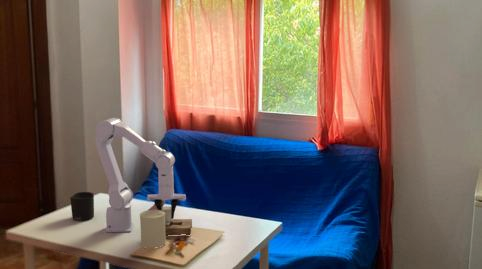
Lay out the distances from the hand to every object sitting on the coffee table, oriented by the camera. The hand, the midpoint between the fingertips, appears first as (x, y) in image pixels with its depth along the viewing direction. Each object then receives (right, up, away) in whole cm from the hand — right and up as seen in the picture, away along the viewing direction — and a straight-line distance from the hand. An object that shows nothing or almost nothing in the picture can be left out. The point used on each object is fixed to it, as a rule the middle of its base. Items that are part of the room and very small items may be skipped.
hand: (167, 218), depth 196 cm
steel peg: (0, -5, +1) cm, 6 cm away
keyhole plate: (+2, -6, +1) cm, 6 cm away
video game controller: (-8, -2, +25) cm, 26 cm away
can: (-4, -8, -10) cm, 14 cm away
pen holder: (-38, -3, +17) cm, 41 cm away
